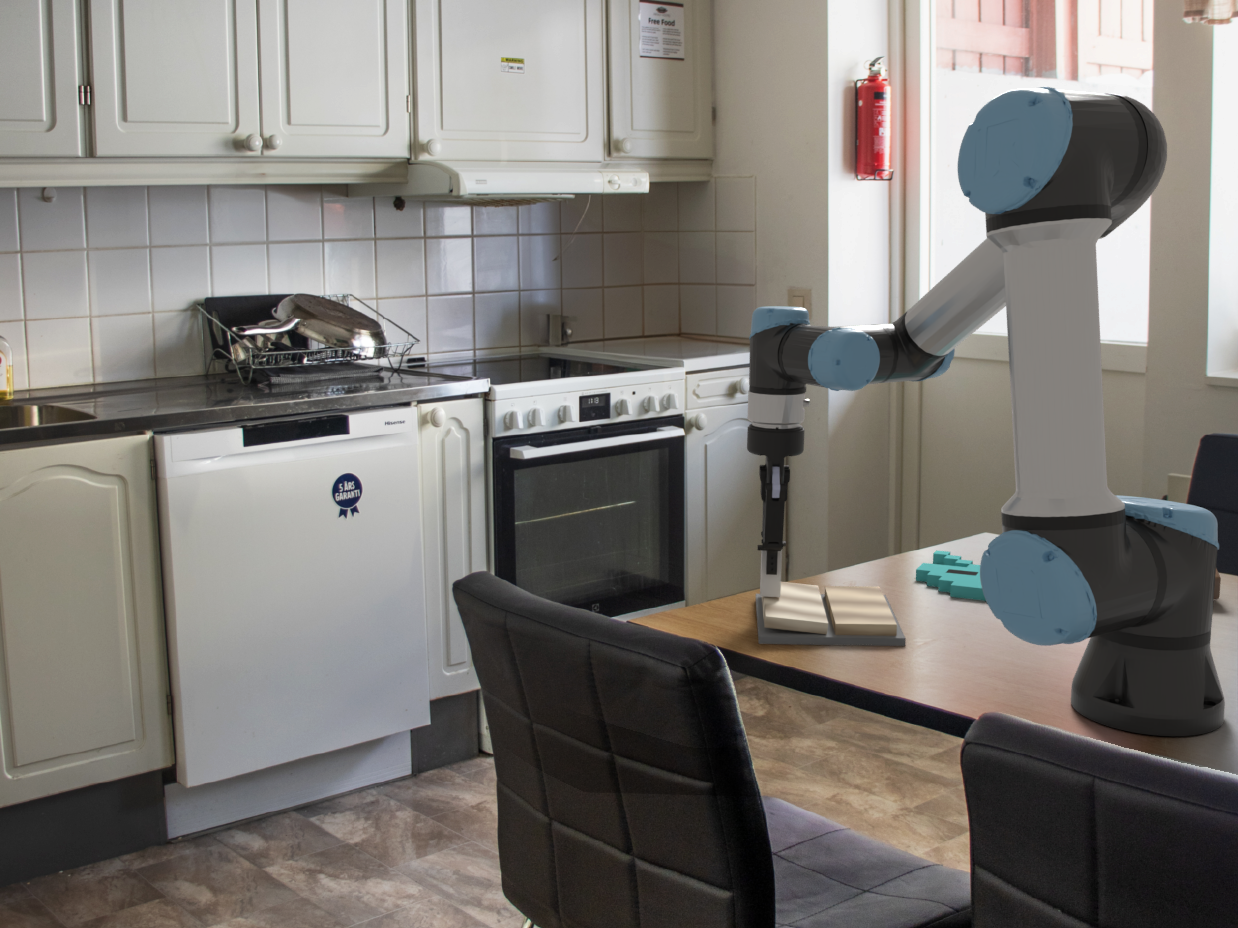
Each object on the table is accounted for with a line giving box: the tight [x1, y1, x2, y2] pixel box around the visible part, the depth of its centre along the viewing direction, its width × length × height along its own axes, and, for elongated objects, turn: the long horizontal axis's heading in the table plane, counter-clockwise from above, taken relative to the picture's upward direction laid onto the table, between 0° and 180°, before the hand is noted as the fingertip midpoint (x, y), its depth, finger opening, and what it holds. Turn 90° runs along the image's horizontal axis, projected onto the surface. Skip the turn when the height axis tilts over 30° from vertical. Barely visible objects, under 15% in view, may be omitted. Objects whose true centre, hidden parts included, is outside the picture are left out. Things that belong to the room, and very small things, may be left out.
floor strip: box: [824, 585, 897, 636], centre depth 162 cm, size 18×8×2 cm, turn 175°
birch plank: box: [762, 581, 828, 634], centre depth 163 cm, size 18×8×2 cm, turn 175°
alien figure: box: [915, 550, 986, 602], centre depth 181 cm, size 20×2×20 cm
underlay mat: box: [755, 593, 907, 647], centre depth 162 cm, size 20×18×1 cm
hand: (770, 594), depth 163 cm, fingers closed
